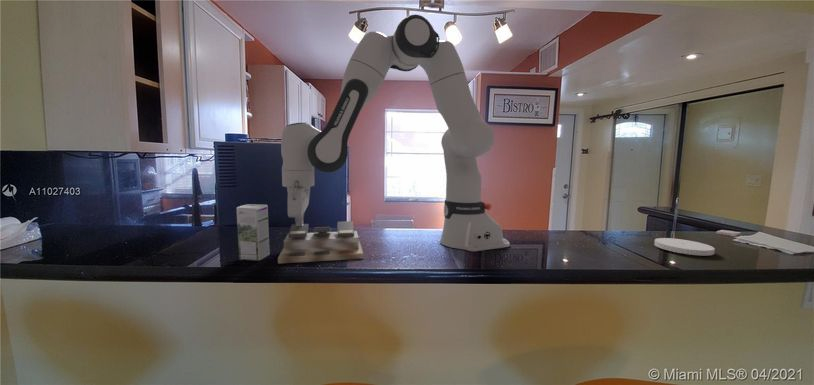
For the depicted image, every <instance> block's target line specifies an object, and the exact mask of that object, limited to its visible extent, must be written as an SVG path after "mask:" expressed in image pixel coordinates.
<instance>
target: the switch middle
mask: <svg viewBox="0 0 814 385" xmlns="http://www.w3.org/2000/svg"><path fill="white" fill-rule="evenodd" d="M312 230H313V232H312V233H318V232H332V227H330V226H321V227H320V226H318V227H317V226H316V227H313V229H312Z"/></svg>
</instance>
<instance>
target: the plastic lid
mask: <svg viewBox="0 0 814 385" xmlns="http://www.w3.org/2000/svg"><path fill="white" fill-rule="evenodd" d="M653 245H654V246H655V247H657V248H659V249H662V250H666V251H669V252H673V253H678V254H683V255H684V254H685V255H689V256H690V255H692V256H700V257H701V256H707V257H708V256H713V255H715V250H716V248H715V247H713V246H711V245H709V244H706V243H702V242H699V241H694V240H688V239H681V238H671V237H670V238H669V237H659V238H655V239H654V244H653Z"/></svg>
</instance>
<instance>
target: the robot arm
mask: <svg viewBox="0 0 814 385" xmlns="http://www.w3.org/2000/svg"><path fill="white" fill-rule="evenodd" d="M439 35H440V34H439V33H438V32H437V31H436V30H435V29H434V27H433V25H432V23H431V22H430V21H429V20H428V19H427V18H425V17H424V16H422V15H419V14H411V15H407V16H405V18H403V19H402V20H401V21H400V22H398V24H397V27H396V29H395V32H394V33H393V35H386V34H384V33H382V32H379V31H376V30H375V31H372V30H371V31H369V32H366V33H365V35H364V36H363V37H362V38H361V39H360V41H359V43H358V44H357V46H356V47H355V49H354V51H353V53H352V55H351V56H350V58H349V60H348V64H347V66H346V68H345V72H344V73H343V78H342V81H341V88H340V94H339V98H338V101H337V103H336V104H335V107H334V109H333V111H332V113H331V115H330V118H329V119H328V122H327V123H326V125H325V127H324V128H323V129H322V130H320V129H318V128H316V127H315V126H313V125H312V124H311V123H309V122H295V123H289V124H287V125H286V126H285V127H284V128H283V129H282V133H281V141H280V142H281V144H280V145H281V146H280V147H281V148H280V150H281V151H280V152H281V153H280V154H281V158H282V166H281V183H282V184H281V185H282V187H284V188H286V191H287V216H288V218H294V221H295V224H296V226H302V225H303V224H304V219H305V218H304V217H305V212H306V210H307V208H308V206H309V203H310V195H311V187H315V169H316V170H318V171H320V172H323V173H333V172H336V171H338V170H340V169H341V168H342V167H343V166H344V165H345V163H346V161H347V158H348V152H349V151H348V141H349V138H350V135H351V132H352V130H353V128H354V126H355V124H356V122H357V120H358V118H359V115H360V113H361V111H362V110H363V109H364V107H365V106H366V105H367V104H369V103H370V102H371V101H372V100H373V99H374V98H375V97H376V95H377V94H378V92H379V91H380V89H381V86H382V84H383V83H384V80H385V78H386V77H387V73H388V72H389V70H390V69H391V70H392V69H394V70H398V71H401V72H411V71H413V70H415V69H416V68H417V67H418V66H420V67H421V68H422V69H423V70H424V72H425V74H426V75H427V79H428V82H429V86H430V89H431V93H432V97H433V99H434V103H435V106H436V110H437V111H438V113H439V114H440V115H441V117H442V118H443V120H444V123H445V124H446V126H447V129H446V130H445V132H444V133H443V135H442V137H441V144H440V145H441V147H442V150H443V159H444V164H445V165H444V166H445V171H446V172H445V173H446V174H445V176H446V184H445V185H446V187H445V188H446V189H445V190H446V191H445V200H444V205H443V216H444V220H443V221H444V222H443V228H442V233H441V235H440V239H439V243H440V244H441V245H443V246H445V247H448V248H451V249H452V248H453V249H459V250H464V251H469V252H479V251H487V250H495V249H503V248H509V247H510V244H511V243H510V241H509V240H508V239H507V238H505V237H504V236H503V234H504V233H503V229H502V226H501V225H500V224H499V222H498V221H496V220H494V219H493V218H492V217H491V215H489V214H488V213H486V210H487V211H490V210H491V209H492V206H493V205H492V204H491V203H489V202H483V201H481V200H482V199H481V198H482V175H481V173H480V171H479V167H478V162H477V158H479V157H482V156H483V155H485V154H486V153H488V152H490V150H491V149H492V147H493V146H494V143H495V132H494V131H493V128H492V127H491V125H489V124H488V123H487V122H486V121H485V119H484V118H483V116H482V114H481V112H480V110H479V108H478V107H477V105H476V103H475V101H474V99H473V95H472V93H471V89H470V86H469V82H468V78H467V74H466V71H465V69H464V65H463V63H462V60H461V58H460V56H459V53H458V51H457V49H456V47H455V46H454V44H453V43H452V42H451V41H449V40H440V36H439Z"/></svg>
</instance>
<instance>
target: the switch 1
mask: <svg viewBox="0 0 814 385" xmlns="http://www.w3.org/2000/svg"><path fill="white" fill-rule="evenodd" d="M308 231H309V223H303V225H302V226H296V223H292V224H291V226H290V229H289V232H288V234H289V238H299V237H307V233H309V232H308Z"/></svg>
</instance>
